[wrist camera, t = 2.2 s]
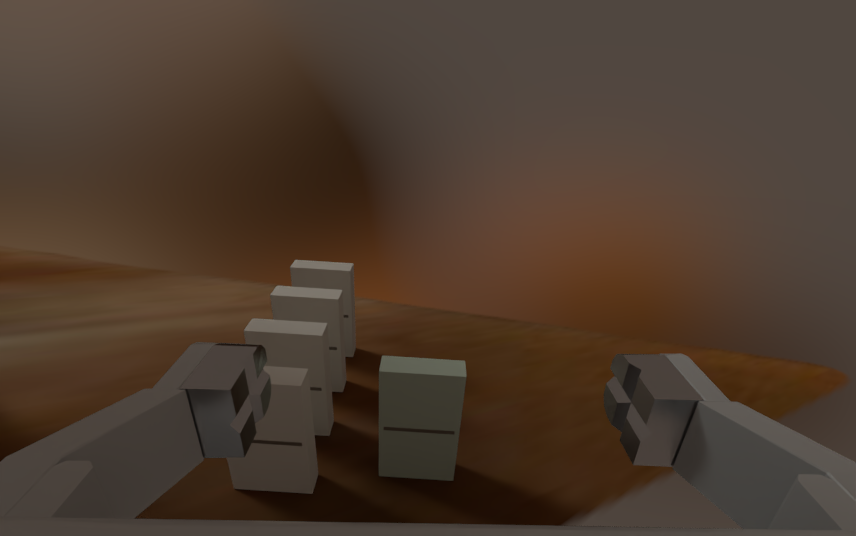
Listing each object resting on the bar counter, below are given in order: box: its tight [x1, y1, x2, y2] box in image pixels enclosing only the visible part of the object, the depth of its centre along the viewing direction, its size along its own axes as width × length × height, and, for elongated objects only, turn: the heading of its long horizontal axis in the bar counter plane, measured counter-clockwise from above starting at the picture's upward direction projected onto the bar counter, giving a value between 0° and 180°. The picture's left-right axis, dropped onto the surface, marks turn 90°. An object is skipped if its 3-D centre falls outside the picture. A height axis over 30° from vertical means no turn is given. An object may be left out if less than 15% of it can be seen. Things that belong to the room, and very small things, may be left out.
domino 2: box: [244, 318, 334, 436], centre depth 29 cm, size 2×5×9 cm, turn 88°
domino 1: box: [270, 286, 346, 392], centre depth 33 cm, size 2×5×9 cm, turn 88°
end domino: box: [290, 260, 356, 357], centre depth 37 cm, size 2×5×9 cm, turn 88°
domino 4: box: [379, 356, 466, 481], centre depth 26 cm, size 2×5×9 cm, turn 88°
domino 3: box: [227, 366, 318, 494], centre depth 25 cm, size 2×5×9 cm, turn 88°
